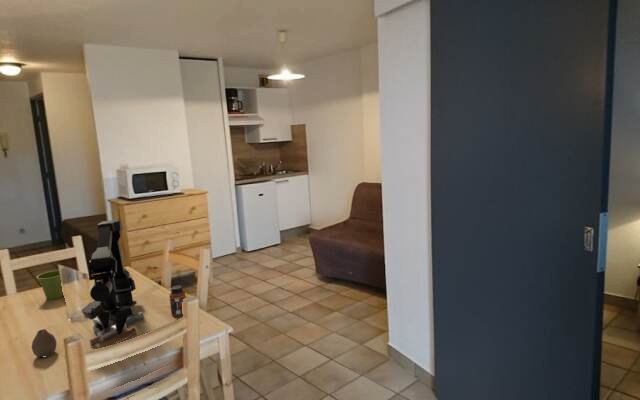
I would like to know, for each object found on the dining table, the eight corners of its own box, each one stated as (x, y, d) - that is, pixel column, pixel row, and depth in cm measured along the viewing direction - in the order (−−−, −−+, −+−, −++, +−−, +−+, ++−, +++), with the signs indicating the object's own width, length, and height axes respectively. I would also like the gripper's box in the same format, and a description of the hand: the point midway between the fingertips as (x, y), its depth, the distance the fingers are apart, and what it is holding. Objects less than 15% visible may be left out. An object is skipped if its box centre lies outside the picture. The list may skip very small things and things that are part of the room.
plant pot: (75, 294, 192) (71, 271, 191) (48, 304, 183) (44, 280, 181) (62, 290, 199) (59, 268, 197) (35, 299, 189) (31, 276, 187)
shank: (98, 342, 144) (97, 333, 143) (122, 331, 151) (120, 322, 151) (103, 344, 142) (102, 335, 141) (127, 332, 150) (126, 323, 149)
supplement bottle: (182, 317, 162) (179, 290, 160) (168, 316, 163) (165, 289, 161) (189, 310, 167) (186, 284, 166) (176, 310, 169) (173, 284, 167)
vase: (41, 350, 142) (36, 326, 141) (62, 348, 143) (57, 325, 141) (29, 361, 135) (24, 336, 134) (51, 359, 136) (46, 334, 134)
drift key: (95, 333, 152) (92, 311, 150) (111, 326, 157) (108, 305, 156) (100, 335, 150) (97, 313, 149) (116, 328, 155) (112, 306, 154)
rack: (90, 345, 143) (89, 339, 143) (124, 329, 154) (123, 323, 154) (102, 350, 140) (101, 344, 139) (136, 333, 150) (135, 327, 150)
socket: (93, 331, 154) (91, 319, 153) (132, 314, 167) (130, 303, 166) (105, 336, 150) (103, 323, 149) (144, 318, 163) (142, 306, 162)
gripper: (68, 294, 142) (75, 336, 144) (99, 303, 132) (106, 348, 135) (99, 283, 151) (106, 322, 154) (130, 291, 141) (136, 333, 144)
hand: (112, 331), depth 146 cm, fingers open, 8 cm apart
